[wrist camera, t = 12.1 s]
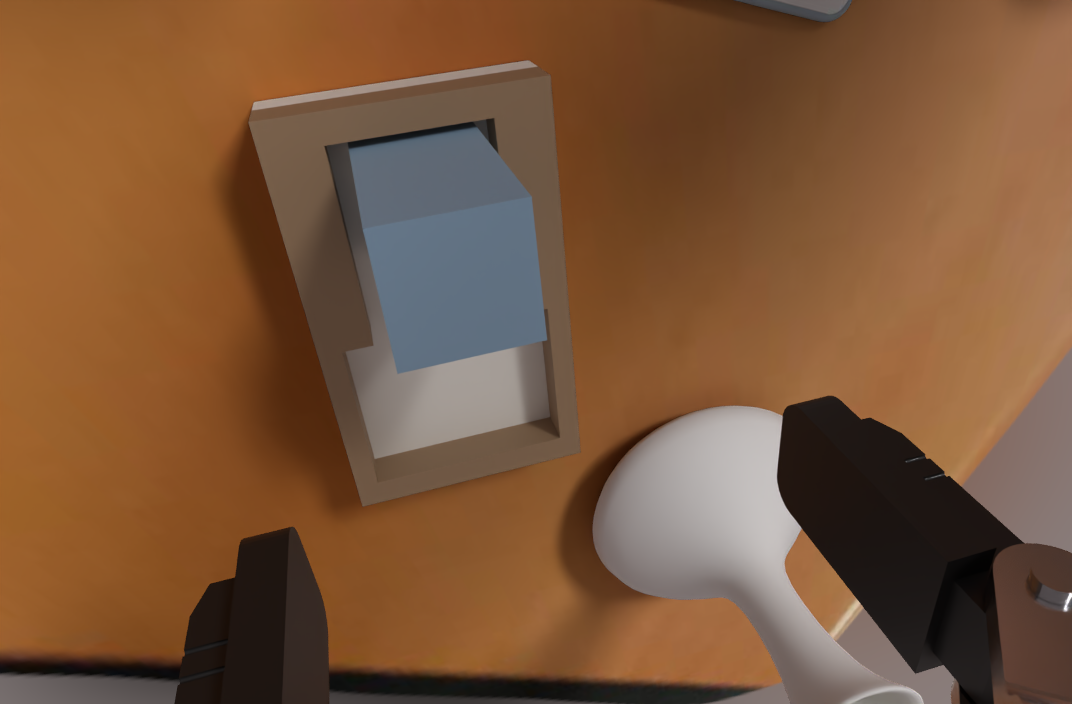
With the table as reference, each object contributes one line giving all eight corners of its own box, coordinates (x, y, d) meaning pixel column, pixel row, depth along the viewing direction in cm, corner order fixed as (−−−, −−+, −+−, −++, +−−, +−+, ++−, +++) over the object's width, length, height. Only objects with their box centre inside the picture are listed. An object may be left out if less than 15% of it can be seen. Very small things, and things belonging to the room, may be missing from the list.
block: (470, 117, 24) (531, 196, 18) (486, 231, 26) (546, 340, 20) (346, 139, 24) (362, 228, 17) (373, 253, 26) (397, 374, 19)
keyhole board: (528, 60, 25) (550, 74, 23) (561, 415, 33) (580, 452, 31) (253, 102, 23) (248, 122, 21) (358, 464, 31) (362, 506, 29)
